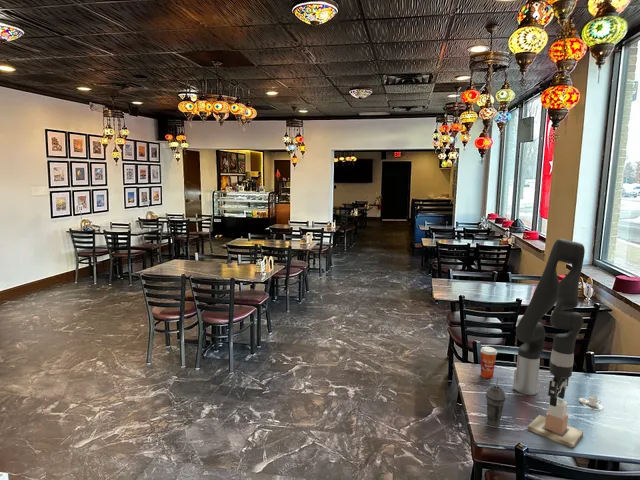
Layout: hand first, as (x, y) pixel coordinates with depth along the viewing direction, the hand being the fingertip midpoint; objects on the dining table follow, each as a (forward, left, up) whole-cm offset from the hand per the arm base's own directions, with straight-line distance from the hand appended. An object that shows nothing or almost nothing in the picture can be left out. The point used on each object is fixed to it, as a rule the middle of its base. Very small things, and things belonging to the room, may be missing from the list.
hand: (556, 401), depth 165 cm
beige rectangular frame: (0, 0, -13) cm, 13 cm away
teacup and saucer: (+3, +37, -13) cm, 40 cm away
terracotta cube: (0, 0, -11) cm, 11 cm away
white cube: (+1, 0, -5) cm, 5 cm away
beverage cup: (-19, -12, -13) cm, 26 cm away
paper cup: (-40, +27, -13) cm, 50 cm away
